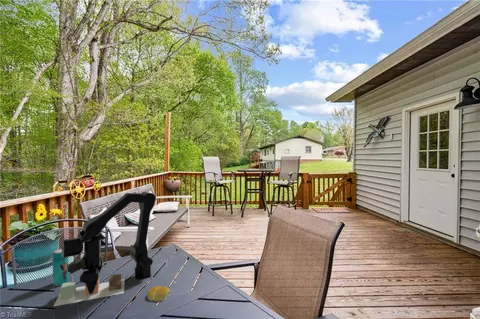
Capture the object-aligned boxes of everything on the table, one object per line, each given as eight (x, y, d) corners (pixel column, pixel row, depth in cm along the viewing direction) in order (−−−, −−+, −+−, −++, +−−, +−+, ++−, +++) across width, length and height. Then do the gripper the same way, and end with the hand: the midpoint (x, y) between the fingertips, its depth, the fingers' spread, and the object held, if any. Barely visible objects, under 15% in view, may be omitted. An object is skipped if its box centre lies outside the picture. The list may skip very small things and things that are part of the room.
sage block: (75, 292, 106) (75, 281, 106) (73, 297, 102) (73, 286, 102) (63, 294, 104) (62, 283, 104) (60, 299, 100) (60, 288, 100)
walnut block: (121, 283, 113) (121, 273, 113) (120, 288, 108) (120, 278, 108) (109, 286, 111) (109, 275, 111) (108, 290, 107) (108, 280, 107)
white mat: (124, 280, 117) (124, 279, 117) (123, 294, 105) (123, 293, 105) (62, 291, 108) (62, 290, 108) (53, 308, 96) (53, 306, 96)
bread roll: (154, 291, 108) (154, 281, 108) (173, 293, 106) (173, 284, 106) (142, 301, 100) (142, 291, 100) (162, 304, 98) (162, 294, 98)
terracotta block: (99, 287, 109) (99, 277, 109) (98, 293, 105) (97, 282, 105) (87, 290, 108) (87, 279, 108) (85, 295, 103) (85, 284, 103)
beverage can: (60, 288, 111) (60, 253, 110) (49, 286, 112) (49, 252, 112) (71, 281, 116) (71, 248, 116) (61, 280, 117) (60, 247, 117)
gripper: (74, 247, 112) (74, 282, 112) (63, 263, 95) (63, 305, 95) (103, 243, 116) (103, 278, 116) (97, 258, 99) (98, 298, 99)
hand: (92, 289), depth 106 cm, fingers open, 8 cm apart
